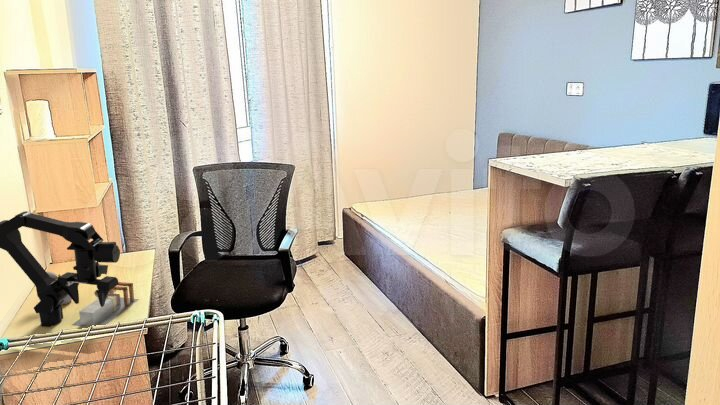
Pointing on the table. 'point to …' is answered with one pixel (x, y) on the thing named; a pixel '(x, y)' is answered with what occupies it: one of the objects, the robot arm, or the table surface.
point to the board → (112, 313)
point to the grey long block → (99, 310)
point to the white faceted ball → (56, 278)
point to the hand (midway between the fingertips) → (89, 304)
